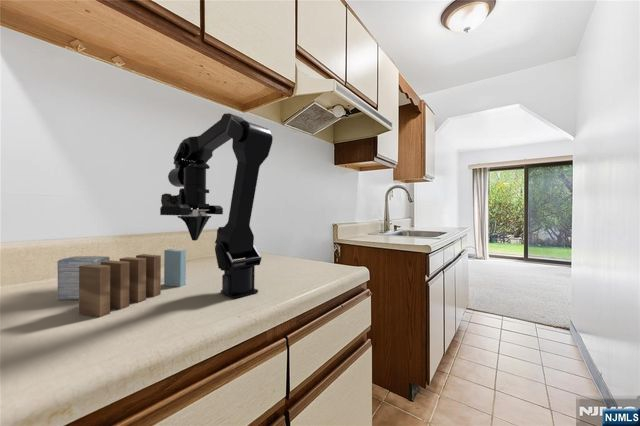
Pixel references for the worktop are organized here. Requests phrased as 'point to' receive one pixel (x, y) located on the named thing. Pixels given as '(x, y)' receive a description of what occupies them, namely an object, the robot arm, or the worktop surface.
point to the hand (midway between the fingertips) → (194, 240)
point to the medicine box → (73, 274)
